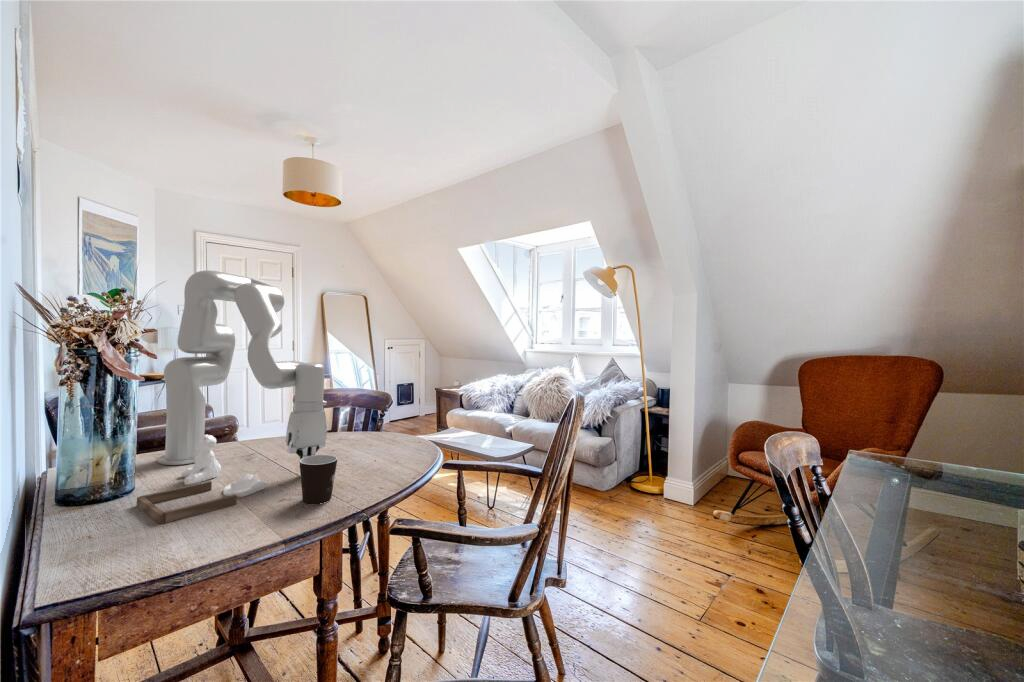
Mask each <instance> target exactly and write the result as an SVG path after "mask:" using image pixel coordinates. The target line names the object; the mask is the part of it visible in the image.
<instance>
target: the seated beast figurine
mask: <svg viewBox="0 0 1024 682" xmlns="http://www.w3.org/2000/svg"><path fill="white" fill-rule="evenodd" d="M217 441H218V440H217V438H216V437H214V435H211V434H208V433H207V434H204V436H203V438H202V440H201V441H199V442H198V443H199V444H198V446H197V448H196V450H198V453H197V456H196V458H195V463H193V466H191V467H187V468H185V469H183V470H182V471H181V475H180V476H181V478H184V479H183V480H184V481H183V483H184V486H190V485H195V484H200V483H203V482H207V481H208V480H211V479H212V478H213V479H215V478H216V477H217V476H218V475H220V473H221V471H222V465H221V464H220V462H219V460H217V458H216V457H215V452H214V451H213V450H214V449H215V448H216V444H217ZM202 481H203V482H202Z"/></svg>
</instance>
